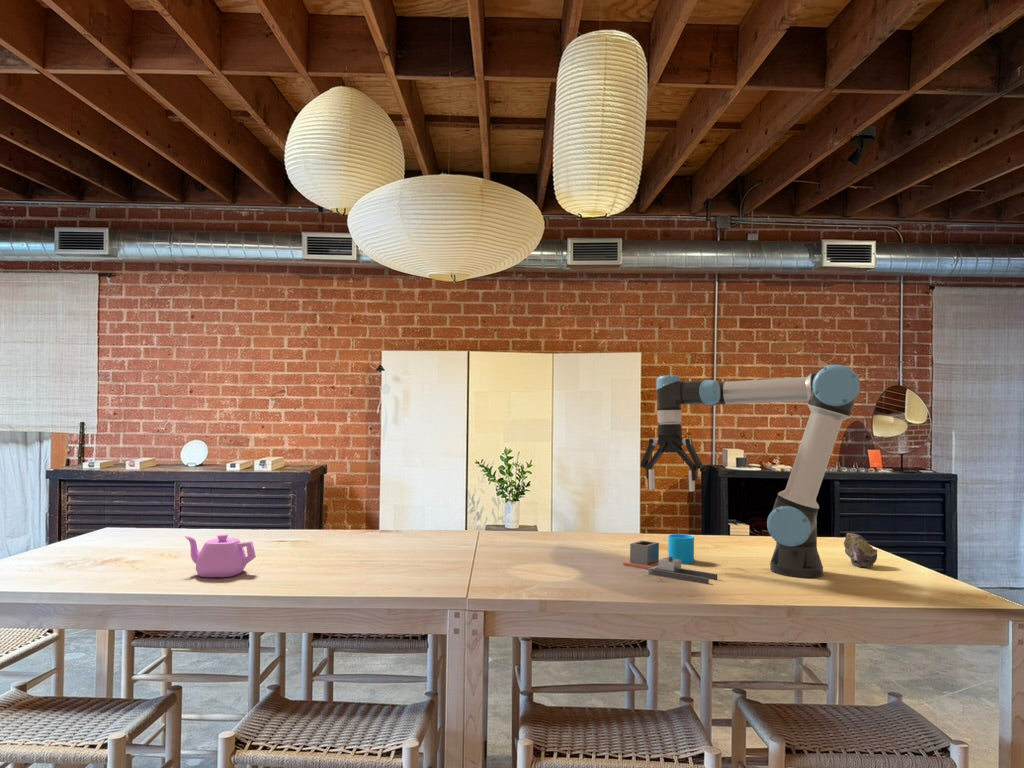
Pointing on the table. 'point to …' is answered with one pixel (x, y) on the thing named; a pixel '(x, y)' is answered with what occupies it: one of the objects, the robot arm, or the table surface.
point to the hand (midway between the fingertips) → (671, 490)
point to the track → (685, 575)
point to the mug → (681, 547)
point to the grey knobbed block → (670, 564)
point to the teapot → (221, 556)
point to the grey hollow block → (644, 552)
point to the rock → (859, 550)
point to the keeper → (640, 565)
